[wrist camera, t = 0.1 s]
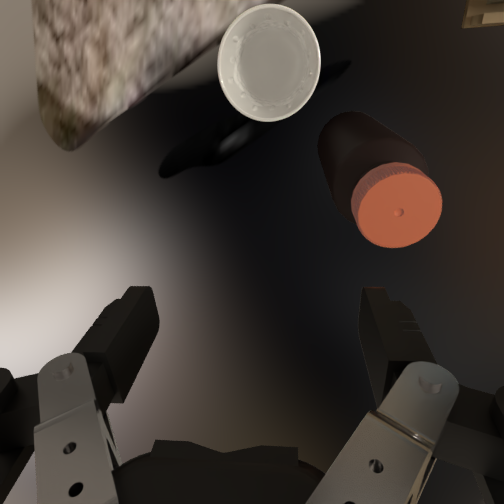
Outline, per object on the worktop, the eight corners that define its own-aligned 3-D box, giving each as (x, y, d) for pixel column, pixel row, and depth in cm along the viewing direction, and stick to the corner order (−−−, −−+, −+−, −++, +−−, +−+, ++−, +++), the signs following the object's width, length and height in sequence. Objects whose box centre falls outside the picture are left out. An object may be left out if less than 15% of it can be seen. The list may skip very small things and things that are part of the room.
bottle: (351, 185, 40) (399, 279, 23) (304, 151, 39) (317, 224, 21) (394, 134, 37) (487, 199, 20) (344, 96, 36) (397, 129, 18)
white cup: (258, 121, 38) (249, 139, 29) (220, 49, 35) (197, 45, 26) (325, 82, 35) (337, 88, 26) (290, 0, 32) (291, -23, 23)
